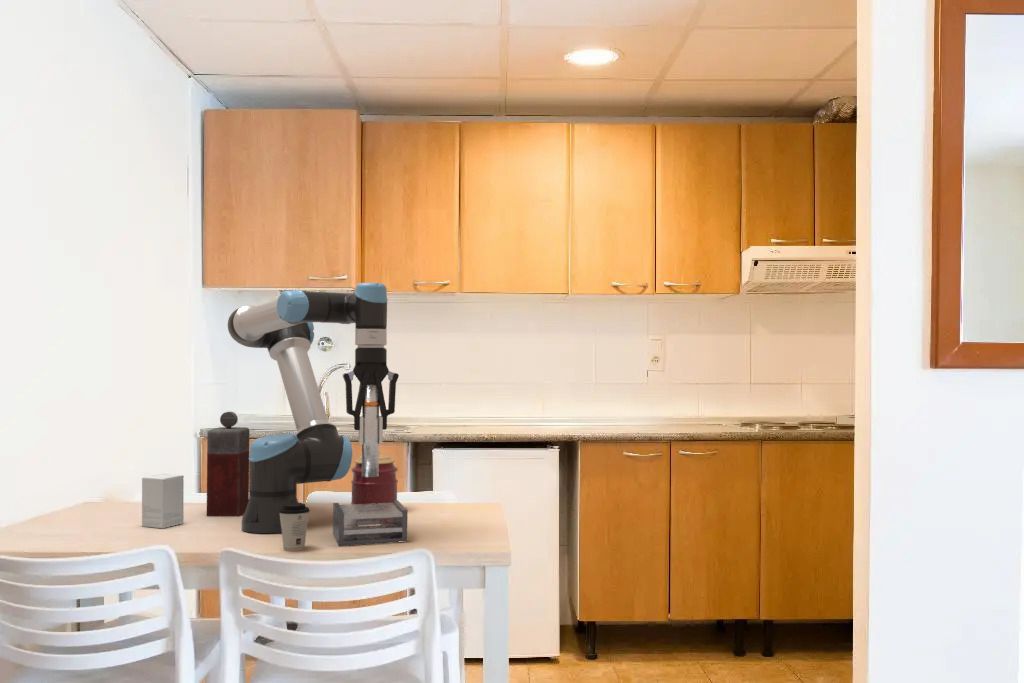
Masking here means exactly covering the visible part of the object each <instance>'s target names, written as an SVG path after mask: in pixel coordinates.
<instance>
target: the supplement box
mask: <svg viewBox="0 0 1024 683" xmlns="http://www.w3.org/2000/svg"><path fill="white" fill-rule="evenodd" d="M184 481H185V480H184V475H181V474H170V473H169V474H168V473H160V474H156V475H150V476H149V475H148V476H144V477H142V478H141V527H146V528H156V529H167V528H171V527H170V526H172V527H175V525H176V526H179V525H178V524H180V525H183V524H184V512H185V511H184V494H185V493H184V483H185V482H184ZM166 527H167V528H166Z"/></svg>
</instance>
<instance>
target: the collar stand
mask: <svg viewBox="0 0 1024 683" xmlns="http://www.w3.org/2000/svg"><path fill="white" fill-rule="evenodd" d="M332 504H333V505H332V535H333V537H334V539H335V542H336V543H337V546H338V547H345V546H346V547H347V546H361V545H376V544H375V543H382V544H389V543H388V542H399V541H407V542H408V512H409V511H408V509H407V508H406V506H404V505H403V504H402V503H401V502H400V501H399V500H398V499H397V500H395V501H393V503H373V504H351V503H350V504H339V502H333V503H332ZM371 510H380V511H371ZM399 543H400V542H399Z"/></svg>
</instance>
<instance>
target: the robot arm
mask: <svg viewBox="0 0 1024 683" xmlns="http://www.w3.org/2000/svg"><path fill="white" fill-rule="evenodd" d="M387 291H388V290H387V286H386V285H385V284H384V283H379V282H359V283H357V284H356V285H355V292H351V293H350V292H349V293H348V292H347V293H346V292H332V291H329V292H327V291H325V292H324V291H309V290H308V291H307V290H300V289H299V290H298V289H293V290H284V291H282V292H281V293H280V295H279V296H278V298H277V299H273V300H272V301H269V302H265V303H262V304H259V305H251V304H250V305H249V304H248V305H245V306H241V307H239V308H237V309H235V310H234V311H233V312H232V313H230V315H229V317H228V320H227V331H228V333H229V335H230V337H231V339H233V340H234V341H235V342H236V343H237V344H240V345H241V346H243V347H247V348H254V349H267V352H268V354H269V358H271V359H272V360H273V361H276V363H277V365H278V369H279V373H280V377H281V380H282V383H283V387H284V390H285V395H286V398H287V400H288V404H289V407H290V410H291V415H292V418H293V421H294V425H295V428H296V429H295V430H296V433H277V434H276V433H275V434H270V435H265V436H260V437H258V438H255V439H254V440H253V441H252V442H251V444H250V445H249V501H248V504H247V507H246V510H245V513H244V514H243V515H242V520H241V530H242V531H244V532H245V533H253V534H279V533H280V534H282V530H281V521H280V513H279V510H280V508H283V506H284V504H288V503H300V502H299V500H298V497H297V496H298V494H297V490H298V489H297V486H298V485H299V484H311V483H319V482H320V483H322V482H331V481H335V480H341V479H343V478H344V477H346V475H347V474H348V473H349V471H350V468H351V465H352V461H353V447H352V443H351V440H350V438H349V437H347V436H346V435H343V434H341V435H340V434H339V431H338V429H337V426H336V425H335V424H333V423H331V422H329V419H328V418H329V417H328V416H327V413H326V409H325V406H324V402H323V399H322V395H321V393H320V389H319V387H318V386H319V385H318V383H317V380H316V377H315V376H316V375H315V373H314V369H313V367H312V364H311V361H310V360H311V359H310V356H309V353H308V352H309V350H310V349H311V345H312V344H313V342H314V339H315V333H314V330H315V326H314V323H322V324H323V323H326V324H327V323H328V324H329V323H330V324H342V325H351V324H354V326H355V328H354V330H355V334H354V336H355V337H354V338H355V340H354V342H355V343H354V345H355V346H357V347H356V348H355V349H354V354H355V355H354V367H353V368H352V369H353V370H352V371H349V372H345V373H343V374H342V378H343V380H344V382H345V405H346V407H345V408H346V410H345V411H346V414H348V415H351V416H353V429H354V430H355V431H358V445H361V446H362V445H363V417H362V416H361V414H362V404H363V399H364V394H365V389H366V386H367V385H377V389H378V396H379V413H380V415H379V445H383V431H385V430H387V428H388V416H390V415H393V414H395V412H396V410H395V409H396V388H397V382H398V379H399V376H400V375H399V373H396V372H392V371H390V370H389V367H388V365H387V362H388V361H387V356H388V355H387V354H388V353H387V348H386V347H385V346H387V343H388V342H387V335H388V334H387V331H388V330H387V327H388V326H387V325H388V302H389V301H388V295H387V294H388V293H387ZM354 376H355V378H356V379H357V380H358V381H359V386H358V387H359V388H358V392H357V398H356V402H355V407H354V409H353V384H352V381H353V380H354ZM386 377H387V379H388V381H389V387H388V409H387V405H386V400H385V395H384V390H383V383H382V382H383V380H384V379H386Z"/></svg>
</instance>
